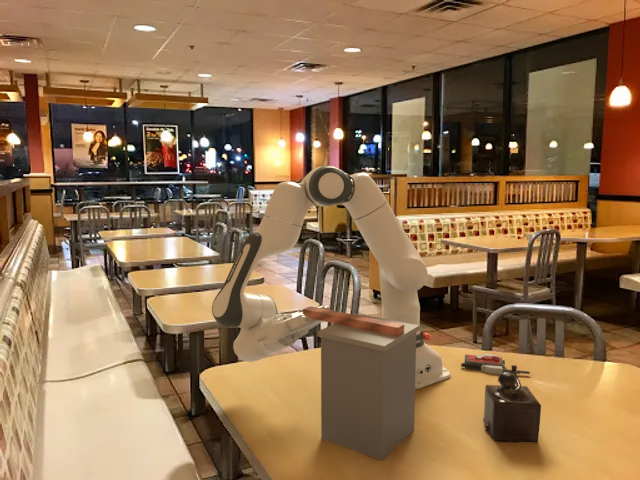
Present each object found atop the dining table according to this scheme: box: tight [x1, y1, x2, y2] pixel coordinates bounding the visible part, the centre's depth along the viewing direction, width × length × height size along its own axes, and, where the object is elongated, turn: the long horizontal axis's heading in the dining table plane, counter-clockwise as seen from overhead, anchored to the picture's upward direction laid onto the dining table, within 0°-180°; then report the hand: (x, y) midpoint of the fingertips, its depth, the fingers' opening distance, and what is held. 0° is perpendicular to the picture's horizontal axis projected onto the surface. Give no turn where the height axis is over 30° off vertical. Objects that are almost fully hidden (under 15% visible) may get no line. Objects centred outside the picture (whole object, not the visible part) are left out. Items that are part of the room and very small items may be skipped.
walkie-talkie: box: [460, 352, 531, 375], centre depth 162 cm, size 9×4×20 cm
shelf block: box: [317, 313, 420, 461], centre depth 122 cm, size 17×17×26 cm
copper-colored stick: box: [302, 306, 404, 337], centre depth 123 cm, size 26×3×2 cm, turn 55°
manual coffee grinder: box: [482, 364, 542, 443], centre depth 121 cm, size 16×11×18 cm
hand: (317, 313), depth 128 cm, fingers open, 8 cm apart
